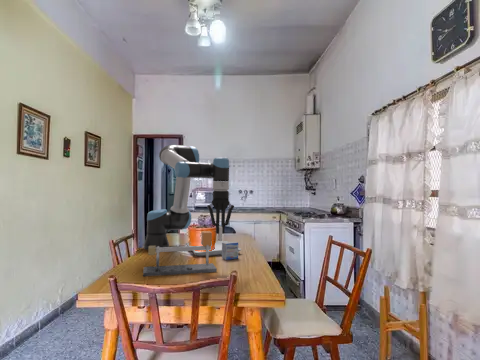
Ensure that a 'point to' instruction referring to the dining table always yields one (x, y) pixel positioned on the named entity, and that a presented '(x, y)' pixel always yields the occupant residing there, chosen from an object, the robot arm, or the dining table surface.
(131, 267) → the dining table surface
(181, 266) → the bolt plate
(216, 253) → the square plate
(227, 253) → the medicine box
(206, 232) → the post
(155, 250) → the frame
